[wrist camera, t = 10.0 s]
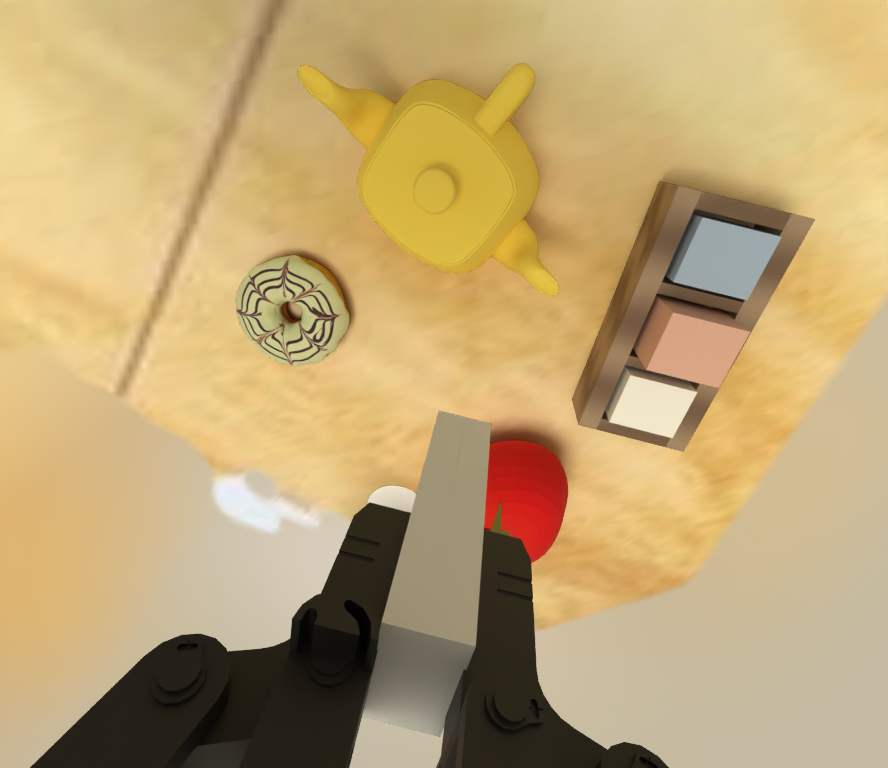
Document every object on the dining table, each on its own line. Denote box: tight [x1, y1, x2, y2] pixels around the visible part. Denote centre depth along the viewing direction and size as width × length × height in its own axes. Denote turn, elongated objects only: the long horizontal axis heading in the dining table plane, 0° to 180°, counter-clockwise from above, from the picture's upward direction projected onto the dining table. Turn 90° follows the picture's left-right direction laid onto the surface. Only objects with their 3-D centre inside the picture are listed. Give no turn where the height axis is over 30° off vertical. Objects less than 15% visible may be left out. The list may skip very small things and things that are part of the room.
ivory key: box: [605, 365, 697, 438], centre depth 43 cm, size 5×6×5 cm
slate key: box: [665, 213, 782, 300], centre depth 37 cm, size 5×6×5 cm
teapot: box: [297, 64, 559, 296], centre depth 35 cm, size 22×16×11 cm
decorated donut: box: [236, 255, 350, 366], centre depth 46 cm, size 10×11×4 cm
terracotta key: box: [633, 294, 750, 388], centre depth 38 cm, size 5×6×5 cm
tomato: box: [484, 440, 568, 563], centre depth 48 cm, size 12×14×11 cm
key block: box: [572, 182, 815, 452], centre depth 41 cm, size 21×10×5 cm, turn 168°
